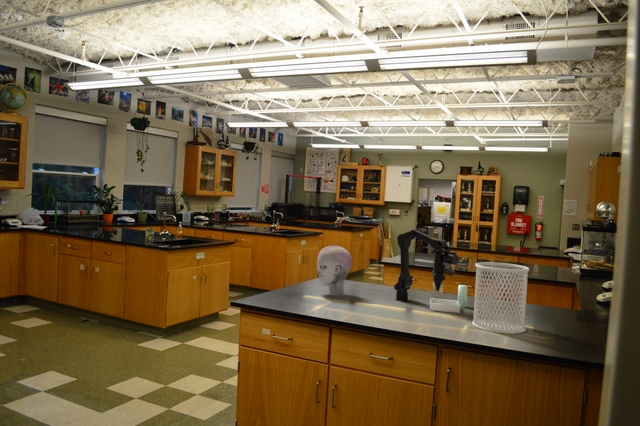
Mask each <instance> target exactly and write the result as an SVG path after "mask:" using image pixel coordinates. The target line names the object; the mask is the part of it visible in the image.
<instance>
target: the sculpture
mask: <svg viewBox="0 0 640 426" xmlns="http://www.w3.org/2000/svg"><path fill="white" fill-rule="evenodd" d="M352 265H353V258H352V255H351V254H350V252H349V251H348V250H347V249H346V248H344V247H342V246H339V245H328V246H326V247H323V248H322V249H321V250H320V251H319V252H318V256H317V260H316V269H317V276H318V279H319V283H320V285H322V286H324V287H326V286H328V291H327V292H328V295H330V296H346V292H345V280H346V279H347V276H348V274H349V273H350V270H351V268H352Z"/></svg>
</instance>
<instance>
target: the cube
mask: <svg viewBox="0 0 640 426" xmlns="http://www.w3.org/2000/svg"><path fill="white" fill-rule="evenodd" d="M443 287H444V284H443V281H442V282H441V285H440V289H439V291H437V289H436V286H435V283H434V281H433V283H432V292H433V293H437V294H438V293H439V294H443Z"/></svg>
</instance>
